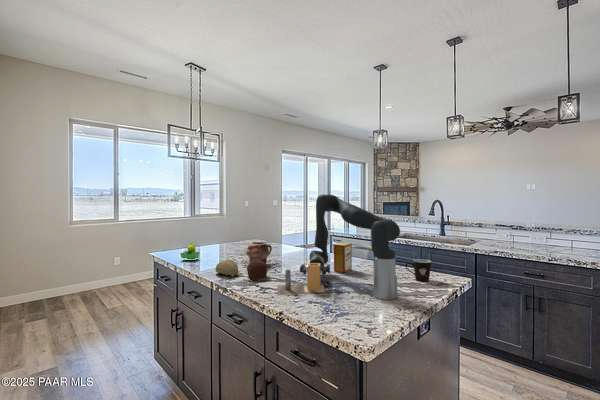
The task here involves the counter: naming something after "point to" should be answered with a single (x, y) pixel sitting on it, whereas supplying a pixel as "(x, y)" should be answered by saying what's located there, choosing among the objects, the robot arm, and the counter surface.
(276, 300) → the counter surface
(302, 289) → the post board
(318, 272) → the sleeve
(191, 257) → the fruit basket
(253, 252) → the reddish brown pitcher
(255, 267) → the muffin
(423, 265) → the coffee mug
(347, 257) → the baking soda box
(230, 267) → the bread roll
